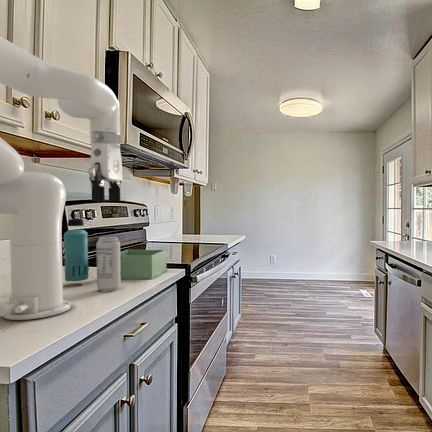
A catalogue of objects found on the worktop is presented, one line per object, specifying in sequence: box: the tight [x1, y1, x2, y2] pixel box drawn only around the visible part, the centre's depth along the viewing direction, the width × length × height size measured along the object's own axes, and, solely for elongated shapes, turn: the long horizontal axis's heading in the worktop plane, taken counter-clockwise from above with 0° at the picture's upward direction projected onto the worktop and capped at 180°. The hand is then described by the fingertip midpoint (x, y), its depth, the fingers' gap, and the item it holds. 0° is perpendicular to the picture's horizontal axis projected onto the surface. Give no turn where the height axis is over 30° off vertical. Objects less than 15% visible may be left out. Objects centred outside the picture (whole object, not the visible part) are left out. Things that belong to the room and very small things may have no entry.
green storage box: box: [120, 249, 168, 280], centre depth 124 cm, size 15×14×8 cm
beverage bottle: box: [63, 218, 90, 283], centre depth 108 cm, size 6×7×20 cm
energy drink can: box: [95, 236, 122, 293], centre depth 102 cm, size 6×6×15 cm
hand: (106, 201), depth 102 cm, fingers open, 9 cm apart
